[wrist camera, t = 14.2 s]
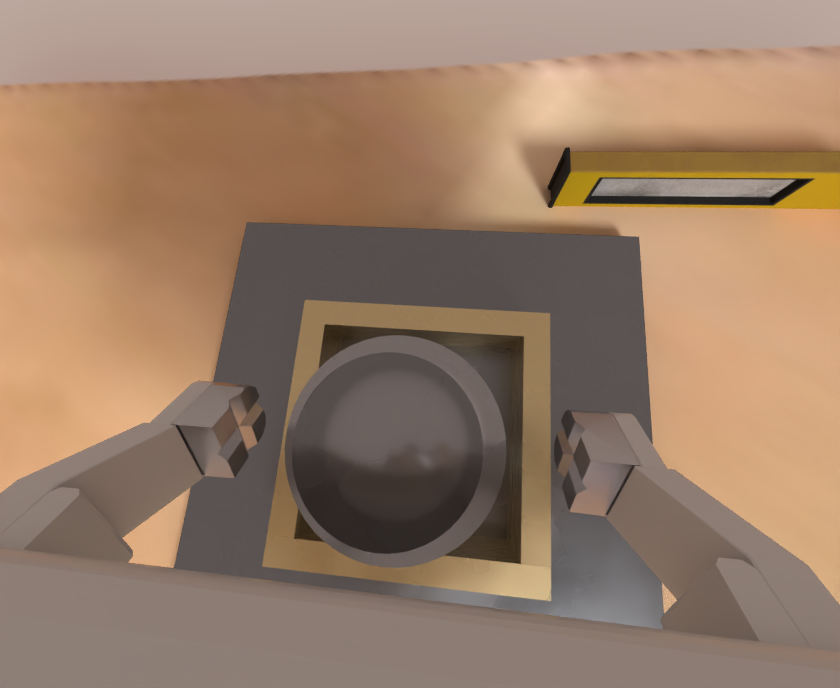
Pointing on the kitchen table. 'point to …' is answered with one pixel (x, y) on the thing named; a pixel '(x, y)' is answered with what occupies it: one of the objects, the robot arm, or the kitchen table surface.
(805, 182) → the spirit level
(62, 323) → the kitchen table surface
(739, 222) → the kitchen table surface
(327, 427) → the domed metal canister
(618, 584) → the collar plate
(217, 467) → the robot arm
